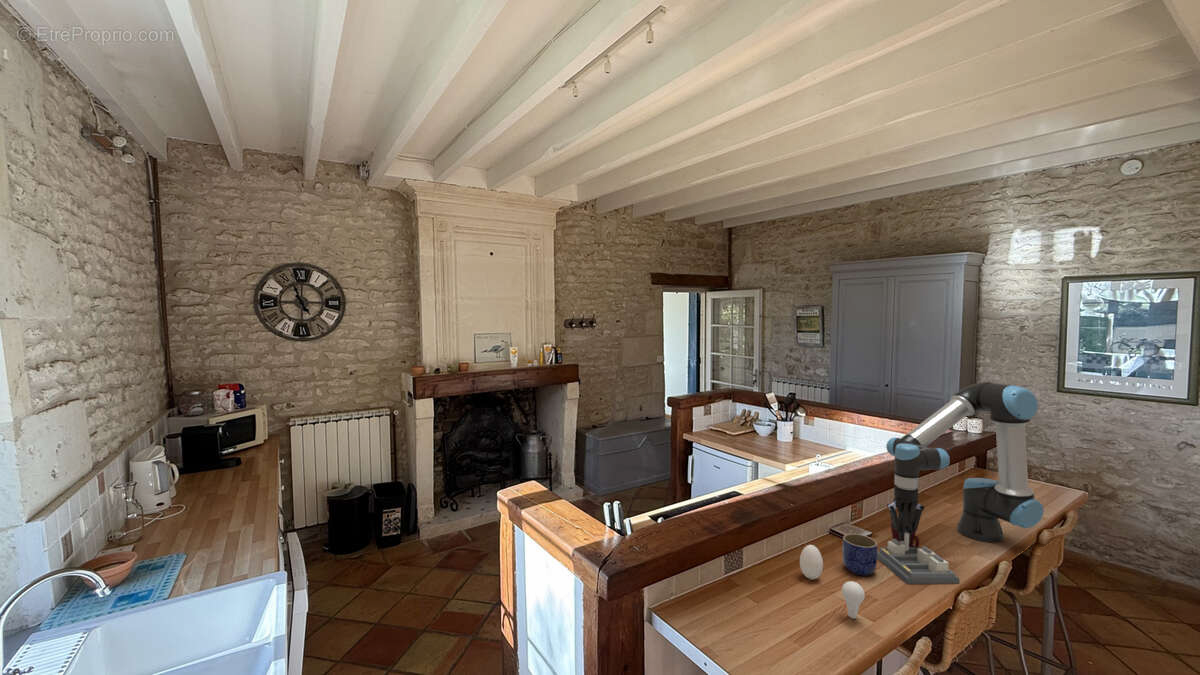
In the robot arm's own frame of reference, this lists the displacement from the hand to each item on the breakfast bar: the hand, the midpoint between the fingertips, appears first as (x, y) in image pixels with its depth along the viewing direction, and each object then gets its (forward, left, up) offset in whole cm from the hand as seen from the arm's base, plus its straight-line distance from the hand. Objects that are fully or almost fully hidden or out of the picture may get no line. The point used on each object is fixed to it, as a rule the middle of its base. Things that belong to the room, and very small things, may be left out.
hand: (904, 548), depth 180 cm
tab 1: (+3, 0, -2) cm, 4 cm away
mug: (-6, -8, -5) cm, 11 cm away
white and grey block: (-4, +12, -2) cm, 13 cm away
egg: (+40, +11, -5) cm, 42 cm away
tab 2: (-4, +6, -2) cm, 8 cm away
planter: (+20, +7, -5) cm, 22 cm away
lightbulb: (+37, +33, -5) cm, 50 cm away
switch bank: (0, +6, -5) cm, 8 cm away
